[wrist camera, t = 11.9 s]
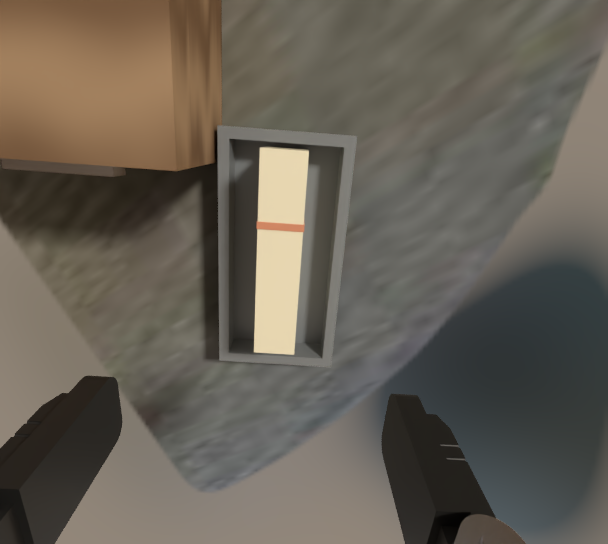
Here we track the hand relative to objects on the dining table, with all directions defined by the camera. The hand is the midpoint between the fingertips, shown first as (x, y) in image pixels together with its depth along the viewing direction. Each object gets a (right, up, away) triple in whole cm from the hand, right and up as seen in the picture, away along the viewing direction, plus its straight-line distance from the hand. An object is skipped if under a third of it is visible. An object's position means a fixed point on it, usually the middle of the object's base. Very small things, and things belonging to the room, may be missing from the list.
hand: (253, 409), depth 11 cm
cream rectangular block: (0, +7, +15) cm, 17 cm away
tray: (0, +6, +16) cm, 17 cm away
